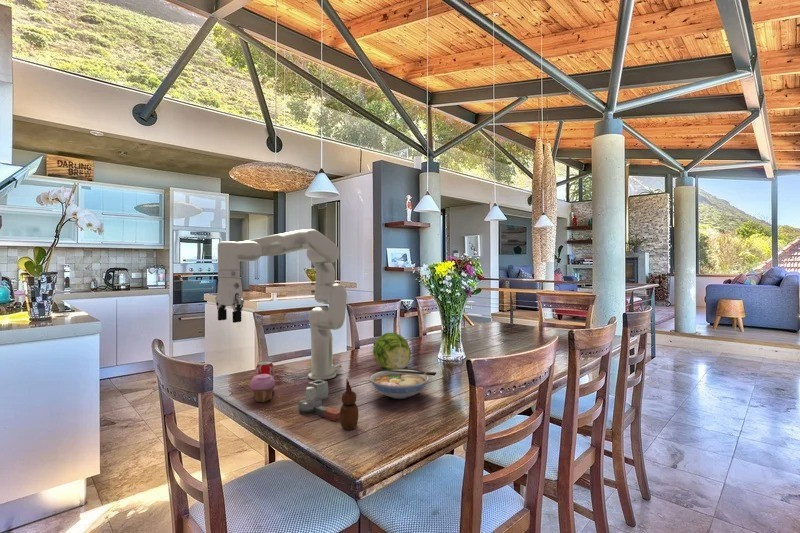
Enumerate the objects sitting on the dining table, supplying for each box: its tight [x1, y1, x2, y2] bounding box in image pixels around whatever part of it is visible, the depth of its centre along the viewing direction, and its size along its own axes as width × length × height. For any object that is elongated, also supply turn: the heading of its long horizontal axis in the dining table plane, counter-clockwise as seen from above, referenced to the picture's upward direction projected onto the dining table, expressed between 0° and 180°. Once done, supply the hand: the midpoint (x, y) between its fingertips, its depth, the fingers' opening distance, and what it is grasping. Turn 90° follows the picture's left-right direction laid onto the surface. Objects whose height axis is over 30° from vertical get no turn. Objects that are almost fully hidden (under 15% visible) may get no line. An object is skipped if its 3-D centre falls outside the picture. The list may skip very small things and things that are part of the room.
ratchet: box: [298, 386, 340, 422], centre depth 141 cm, size 8×19×8 cm, turn 50°
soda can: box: [255, 360, 275, 392], centre depth 164 cm, size 7×7×12 cm
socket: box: [307, 380, 329, 400], centre depth 157 cm, size 5×5×6 cm
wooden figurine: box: [339, 378, 359, 431], centre depth 129 cm, size 7×6×15 cm
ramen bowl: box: [369, 368, 437, 400], centre depth 158 cm, size 25×23×8 cm
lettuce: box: [373, 332, 412, 370], centre depth 197 cm, size 17×23×17 cm
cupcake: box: [249, 374, 276, 403], centre depth 154 cm, size 9×9×10 cm
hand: (229, 321), depth 152 cm, fingers open, 9 cm apart
